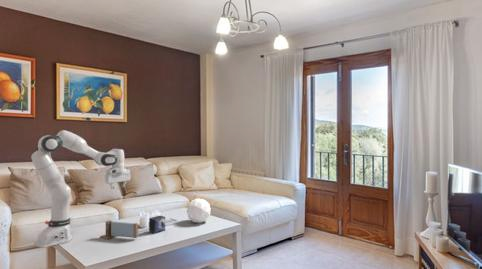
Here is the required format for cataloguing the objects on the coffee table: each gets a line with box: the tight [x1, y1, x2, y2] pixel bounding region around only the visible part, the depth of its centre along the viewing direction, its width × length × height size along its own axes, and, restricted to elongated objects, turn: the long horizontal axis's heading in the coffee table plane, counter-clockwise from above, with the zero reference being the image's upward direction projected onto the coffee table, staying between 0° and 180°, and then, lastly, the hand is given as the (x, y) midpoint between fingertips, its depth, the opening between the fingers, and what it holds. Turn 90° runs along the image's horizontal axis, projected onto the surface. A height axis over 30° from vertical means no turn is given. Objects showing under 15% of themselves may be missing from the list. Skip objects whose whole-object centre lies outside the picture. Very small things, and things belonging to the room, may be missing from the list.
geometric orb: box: [186, 198, 212, 224], centre depth 270 cm, size 19×20×20 cm
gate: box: [111, 220, 139, 239], centre depth 229 cm, size 20×2×10 cm, turn 76°
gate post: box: [99, 220, 118, 241], centre depth 232 cm, size 8×8×11 cm
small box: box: [148, 214, 166, 235], centre depth 246 cm, size 11×6×10 cm, turn 143°
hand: (118, 187), depth 251 cm, fingers open, 8 cm apart
